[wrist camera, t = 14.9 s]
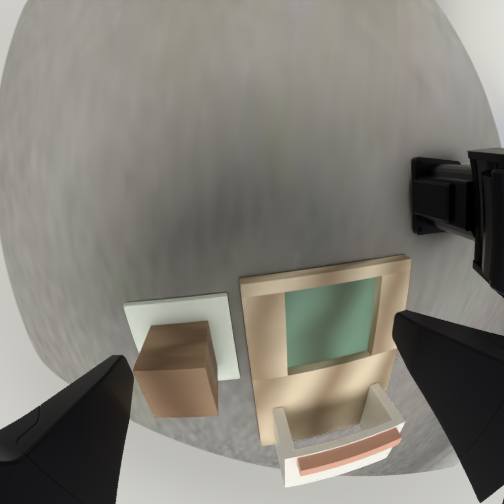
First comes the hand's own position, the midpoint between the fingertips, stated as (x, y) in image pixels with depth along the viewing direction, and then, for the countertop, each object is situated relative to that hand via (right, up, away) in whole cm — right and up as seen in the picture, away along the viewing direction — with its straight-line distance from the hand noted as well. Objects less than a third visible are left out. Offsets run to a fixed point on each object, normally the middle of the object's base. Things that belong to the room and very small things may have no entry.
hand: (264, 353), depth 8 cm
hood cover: (+7, -14, +16) cm, 22 cm away
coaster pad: (-6, -4, +13) cm, 15 cm away
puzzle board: (+7, -8, +15) cm, 18 cm away
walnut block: (-6, -4, +12) cm, 14 cm away
